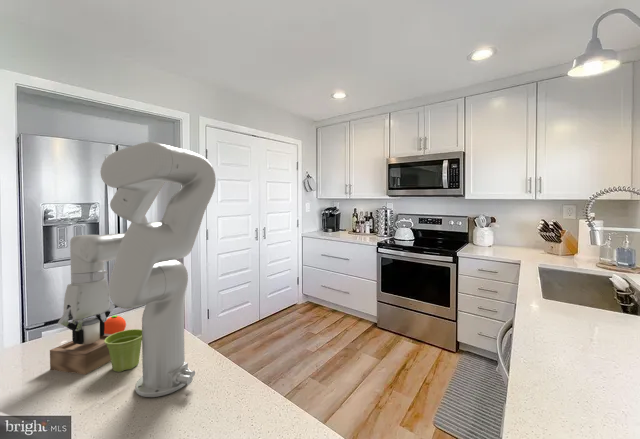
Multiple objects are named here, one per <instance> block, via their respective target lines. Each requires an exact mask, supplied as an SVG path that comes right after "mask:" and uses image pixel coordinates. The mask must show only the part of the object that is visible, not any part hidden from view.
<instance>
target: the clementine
mask: <svg viewBox="0 0 640 439" xmlns="http://www.w3.org/2000/svg"><path fill="white" fill-rule="evenodd" d="M126 326H127V322H126V320H125V318H124V317H122V316H120V315H112V316H110V317H107V320H106V321H105V331H104V334H114V333H117V332H121V331H125V330H126V328H127V327H126Z"/></svg>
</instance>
